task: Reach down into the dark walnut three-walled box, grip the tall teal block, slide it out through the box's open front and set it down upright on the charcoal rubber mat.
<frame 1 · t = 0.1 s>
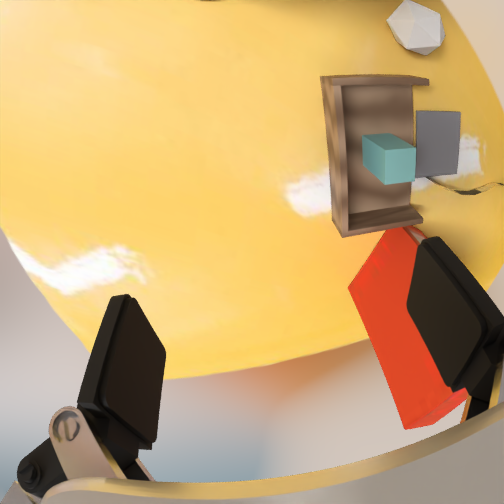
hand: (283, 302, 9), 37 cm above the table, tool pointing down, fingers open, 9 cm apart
mat: (438, 143, 43), on the table
die: (403, 28, 32), on the table
open box: (375, 147, 43), on the table
file binder: (384, 258, 57), on the table
curved strip: (482, 196, 50), on the table
teal block: (376, 148, 43), point 1 cm above the table, touching open box
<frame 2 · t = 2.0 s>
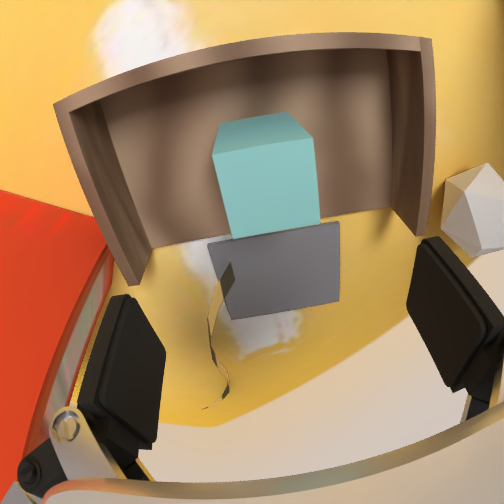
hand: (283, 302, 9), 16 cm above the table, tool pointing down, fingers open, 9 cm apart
mat: (280, 274, 30), on the table
die: (458, 192, 26), on the table
open box: (258, 146, 23), on the table
file binder: (42, 233, 26), on the table
curved strip: (199, 364, 40), on the table, touching mat
teal block: (259, 148, 22), point 1 cm above the table, touching open box
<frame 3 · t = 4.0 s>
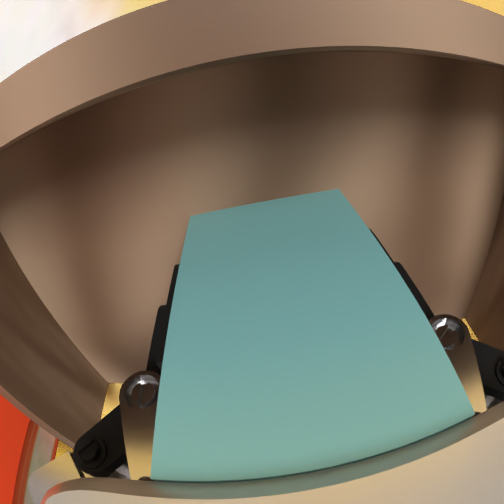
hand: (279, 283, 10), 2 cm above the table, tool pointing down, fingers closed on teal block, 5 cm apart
open box: (273, 252, 12), on the table
teal block: (275, 261, 11), point 1 cm above the table, touching gripper, open box
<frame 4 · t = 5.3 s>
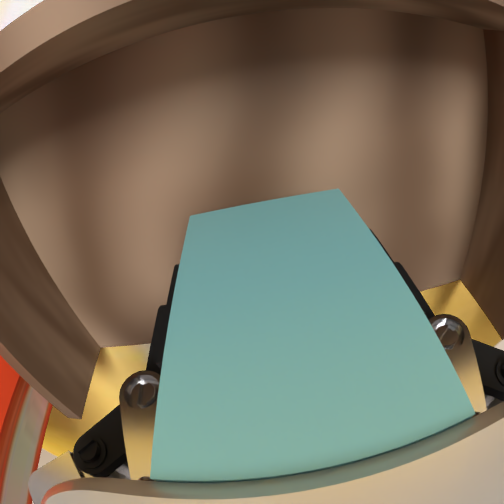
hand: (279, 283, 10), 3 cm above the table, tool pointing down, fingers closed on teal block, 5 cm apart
open box: (261, 195, 12), on the table
teal block: (275, 261, 11), point 2 cm above the table, touching gripper
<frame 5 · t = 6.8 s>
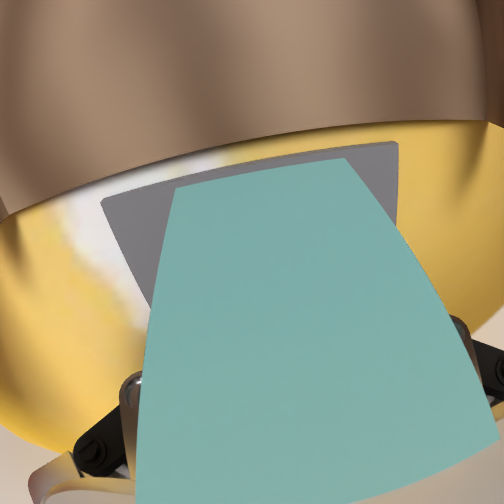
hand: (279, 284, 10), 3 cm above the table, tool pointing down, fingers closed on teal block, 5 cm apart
mat: (268, 267, 14), on the table
teal block: (271, 237, 10), point 2 cm above the table, tilted 7°, touching gripper
when the fingers open (3 cm above the table, at t = 8.0 s): teal block drops 2 cm, resting on mat.
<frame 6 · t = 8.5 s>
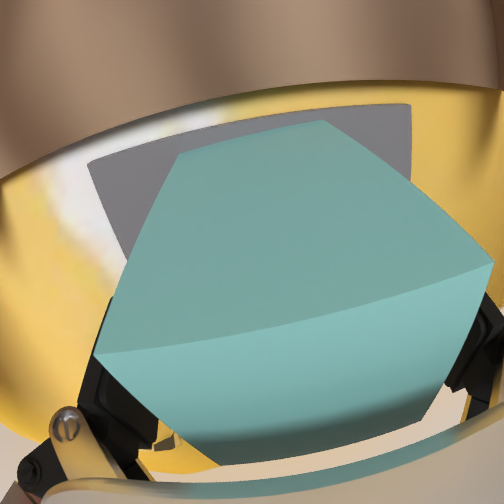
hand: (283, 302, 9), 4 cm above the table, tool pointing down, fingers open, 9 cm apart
mat: (270, 240, 12), on the table
curved strip: (137, 406, 22), on the table, touching mat
teal block: (267, 199, 11), resting on mat
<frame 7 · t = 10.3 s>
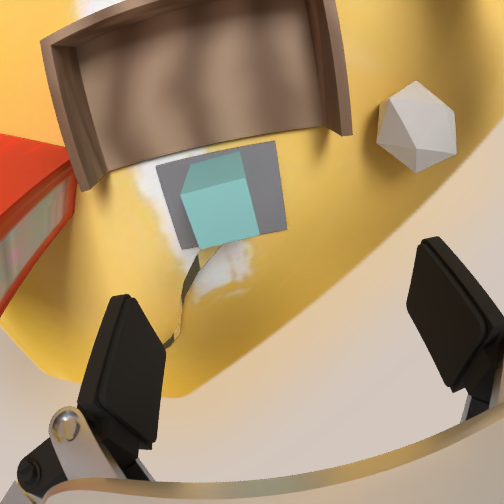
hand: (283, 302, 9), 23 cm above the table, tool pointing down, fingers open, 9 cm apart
mat: (224, 197, 31), on the table
die: (397, 118, 28), on the table
open box: (197, 74, 24), on the table
file binder: (19, 168, 26), on the table
curved strip: (155, 307, 40), on the table, touching mat
teal block: (221, 180, 30), resting on mat
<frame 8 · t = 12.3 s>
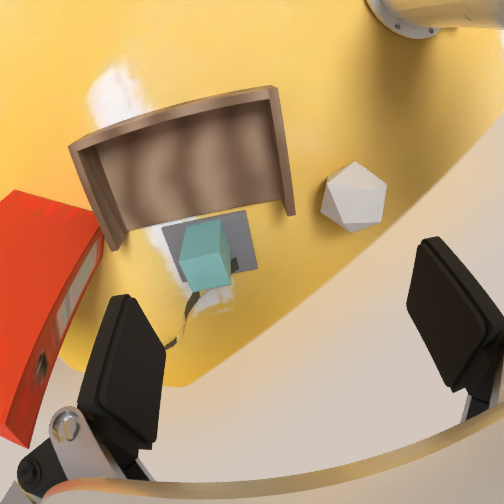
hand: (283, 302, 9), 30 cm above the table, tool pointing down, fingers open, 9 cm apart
mat: (211, 248, 44), on the table
die: (343, 185, 40), on the table
open box: (187, 165, 37), on the table
file binder: (57, 222, 40), on the table
curved strip: (163, 317, 53), on the table
teal block: (208, 237, 43), resting on mat
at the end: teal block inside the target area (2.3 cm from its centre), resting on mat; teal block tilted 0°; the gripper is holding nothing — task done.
